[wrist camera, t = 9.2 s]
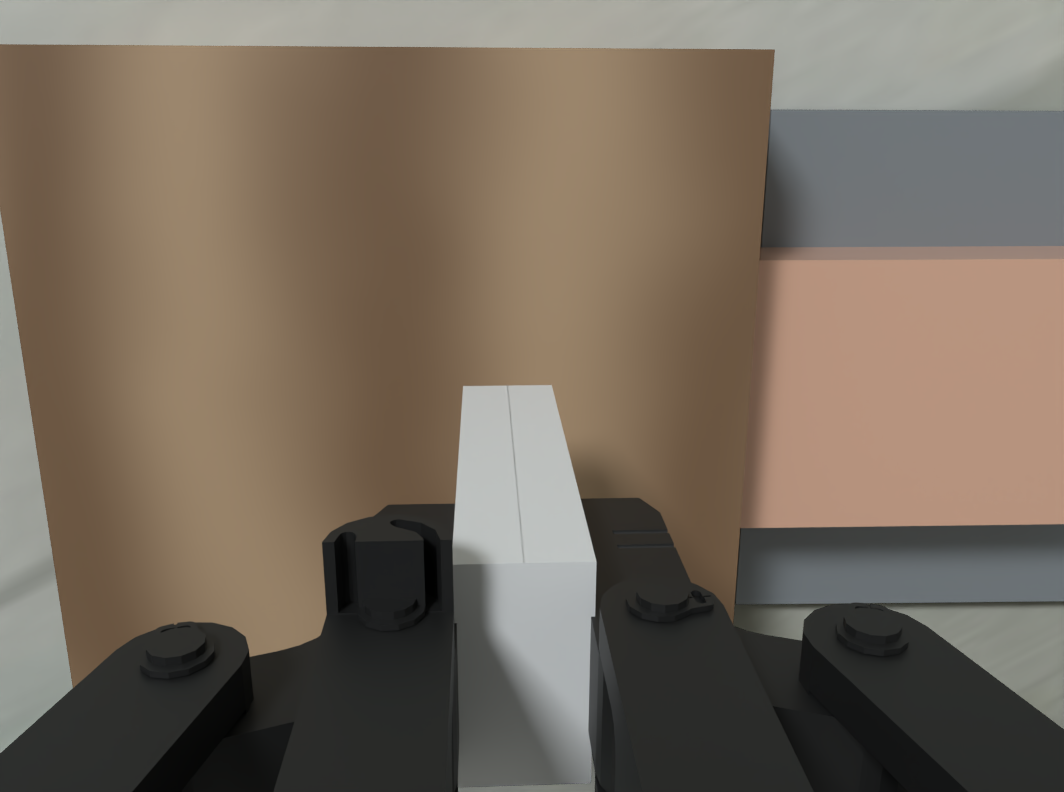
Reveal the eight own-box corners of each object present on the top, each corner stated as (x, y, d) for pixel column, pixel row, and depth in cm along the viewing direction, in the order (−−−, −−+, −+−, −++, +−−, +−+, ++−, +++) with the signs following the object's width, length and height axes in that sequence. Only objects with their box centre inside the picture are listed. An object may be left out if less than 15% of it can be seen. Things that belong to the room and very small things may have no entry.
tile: (708, 494, 23) (727, 528, 21) (722, 247, 21) (743, 260, 20) (1071, 490, 23) (1122, 523, 22) (1113, 246, 22) (1172, 258, 20)
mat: (731, 596, 24) (735, 604, 24) (766, 109, 21) (771, 109, 21) (1264, 591, 25) (1276, 599, 24) (1382, 112, 21) (1398, 112, 21)
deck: (146, 637, 24) (80, 735, 20) (74, 57, 20) (-25, 44, 17) (691, 631, 25) (725, 726, 21) (724, 61, 21) (774, 49, 17)
